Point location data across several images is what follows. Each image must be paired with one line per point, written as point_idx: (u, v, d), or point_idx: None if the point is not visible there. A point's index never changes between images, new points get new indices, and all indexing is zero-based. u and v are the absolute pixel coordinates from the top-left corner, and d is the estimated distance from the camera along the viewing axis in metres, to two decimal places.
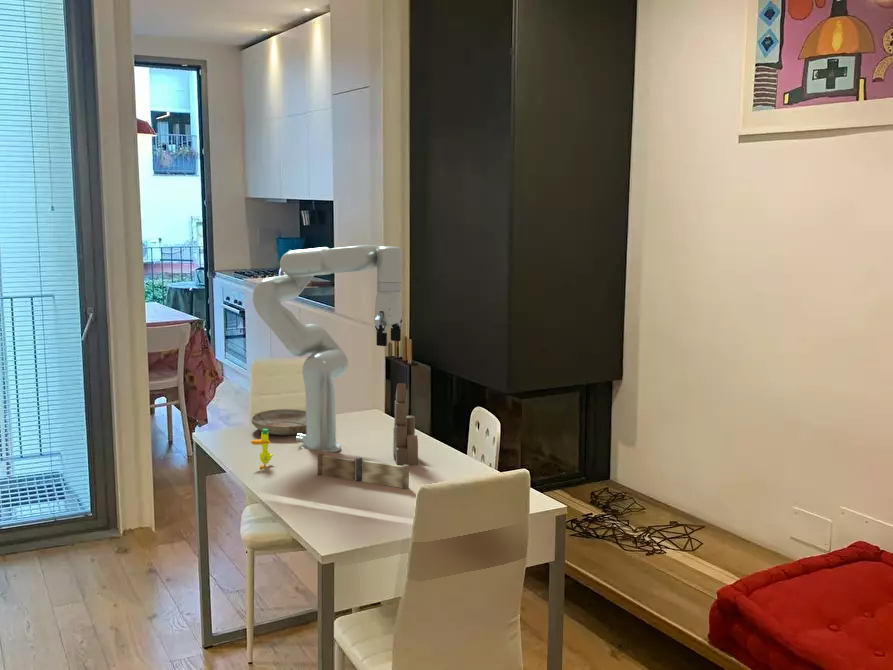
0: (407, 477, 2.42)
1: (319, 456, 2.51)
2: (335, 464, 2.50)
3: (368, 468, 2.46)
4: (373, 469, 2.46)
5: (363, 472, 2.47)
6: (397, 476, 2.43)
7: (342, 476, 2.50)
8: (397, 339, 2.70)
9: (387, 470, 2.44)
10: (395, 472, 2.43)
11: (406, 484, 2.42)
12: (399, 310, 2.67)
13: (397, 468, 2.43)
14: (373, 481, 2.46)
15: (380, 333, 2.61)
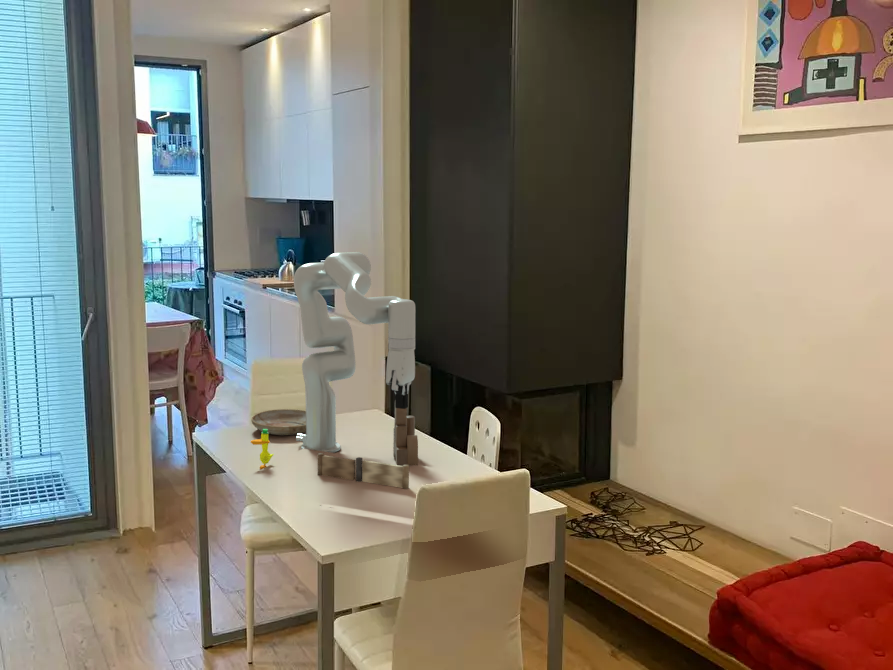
0: (407, 477, 2.42)
1: (319, 456, 2.51)
2: (335, 464, 2.50)
3: (368, 468, 2.46)
4: (373, 469, 2.46)
5: (363, 472, 2.47)
6: (397, 476, 2.43)
7: (342, 476, 2.50)
8: None
9: (387, 470, 2.44)
10: (395, 472, 2.43)
11: (406, 484, 2.42)
12: (412, 368, 2.46)
13: (397, 468, 2.43)
14: (373, 481, 2.46)
15: None
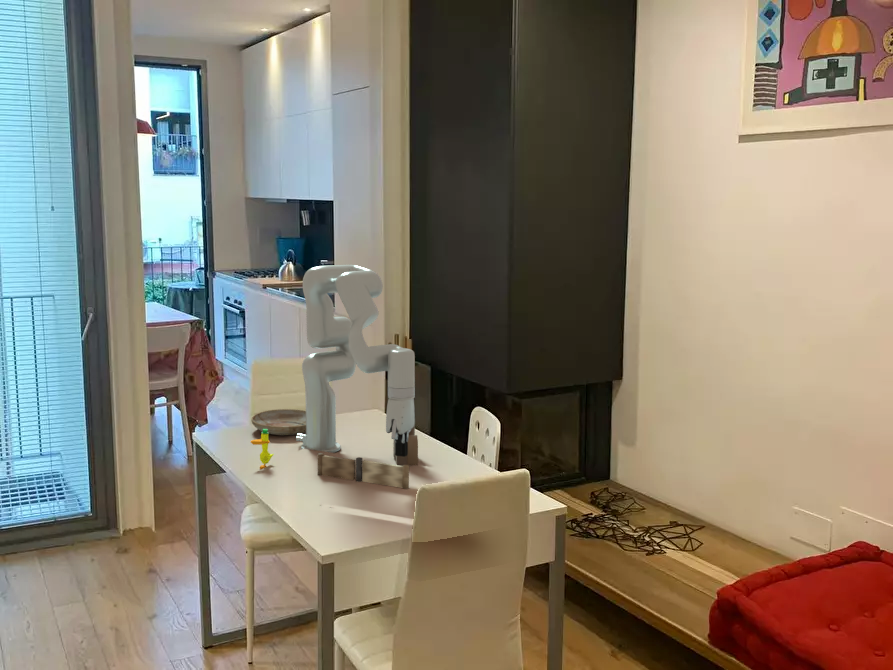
0: (407, 477, 2.42)
1: (319, 456, 2.51)
2: (335, 464, 2.50)
3: (368, 468, 2.46)
4: (373, 469, 2.46)
5: (363, 472, 2.47)
6: (397, 476, 2.43)
7: (342, 476, 2.50)
8: None
9: (387, 470, 2.44)
10: (395, 472, 2.43)
11: (406, 484, 2.42)
12: (412, 415, 2.49)
13: (397, 468, 2.43)
14: (373, 481, 2.46)
15: None
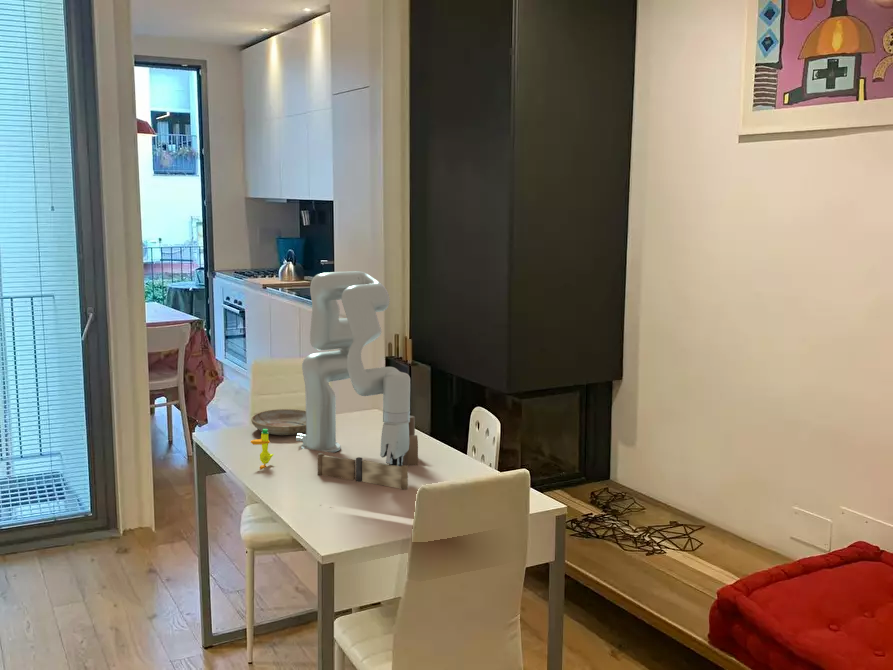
0: (406, 478, 2.41)
1: (319, 456, 2.51)
2: (335, 464, 2.50)
3: (368, 468, 2.46)
4: (373, 469, 2.45)
5: (362, 472, 2.47)
6: (396, 477, 2.43)
7: (342, 476, 2.50)
8: None
9: (386, 470, 2.44)
10: (394, 473, 2.43)
11: (405, 485, 2.42)
12: (407, 439, 2.47)
13: (396, 469, 2.42)
14: (373, 481, 2.46)
15: None
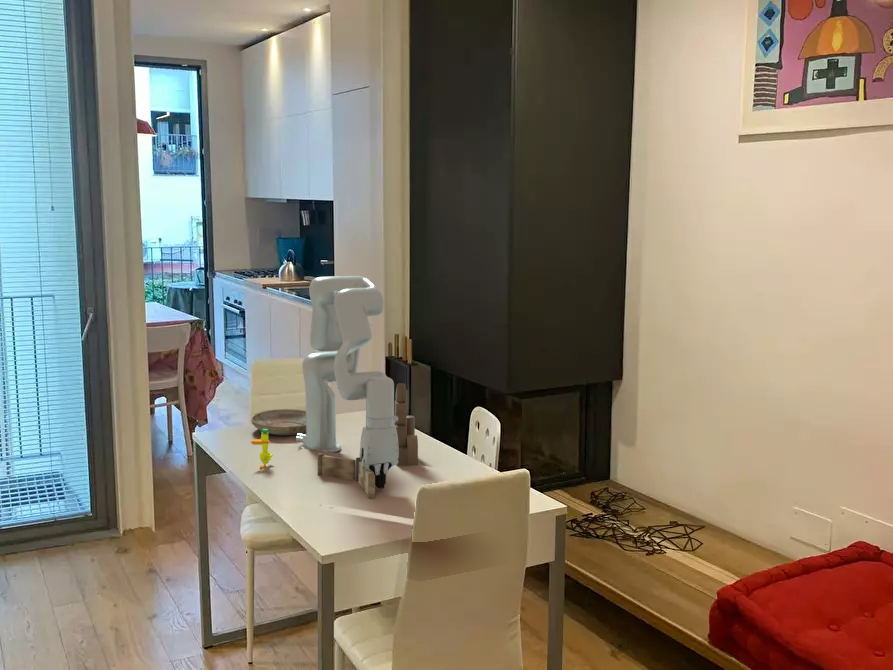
0: (370, 487, 2.34)
1: (319, 456, 2.51)
2: (335, 464, 2.50)
3: (360, 470, 2.45)
4: (361, 471, 2.43)
5: None
6: (367, 483, 2.36)
7: (342, 476, 2.50)
8: None
9: (365, 475, 2.39)
10: (367, 479, 2.37)
11: (369, 494, 2.34)
12: (391, 448, 2.38)
13: (367, 475, 2.36)
14: (361, 484, 2.44)
15: None
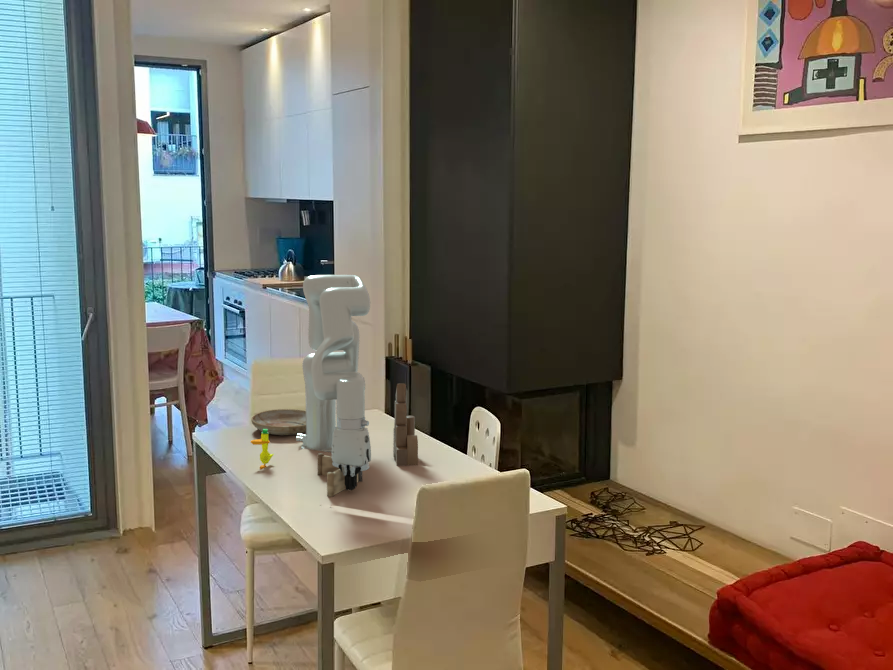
0: (327, 484, 2.35)
1: (319, 456, 2.51)
2: None
3: None
4: None
5: None
6: None
7: None
8: None
9: None
10: None
11: (327, 491, 2.35)
12: (355, 452, 2.33)
13: None
14: None
15: None
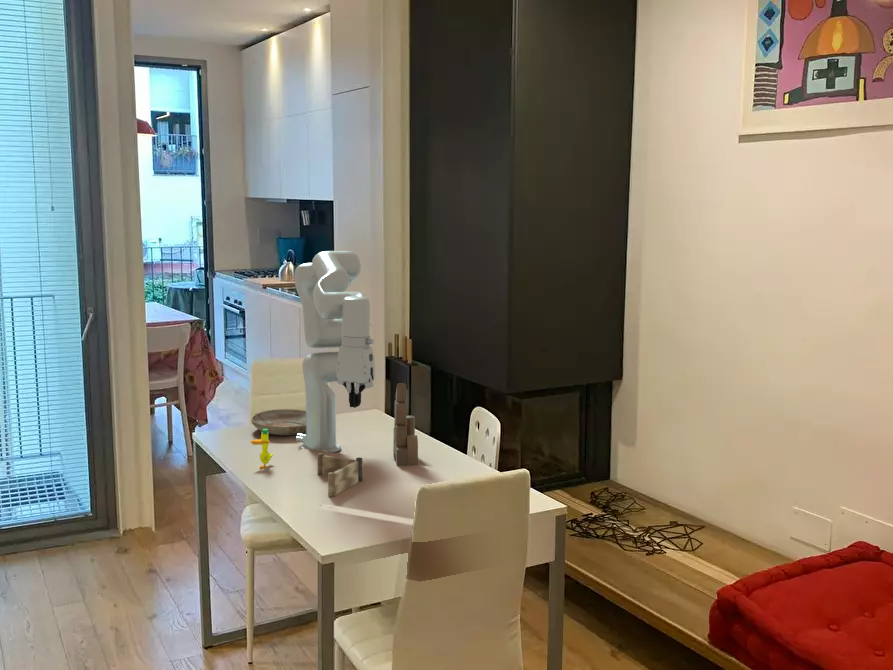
0: (328, 485, 2.35)
1: (319, 456, 2.51)
2: (335, 464, 2.50)
3: None
4: None
5: None
6: None
7: None
8: None
9: None
10: None
11: (328, 491, 2.35)
12: (359, 369, 2.37)
13: None
14: None
15: None
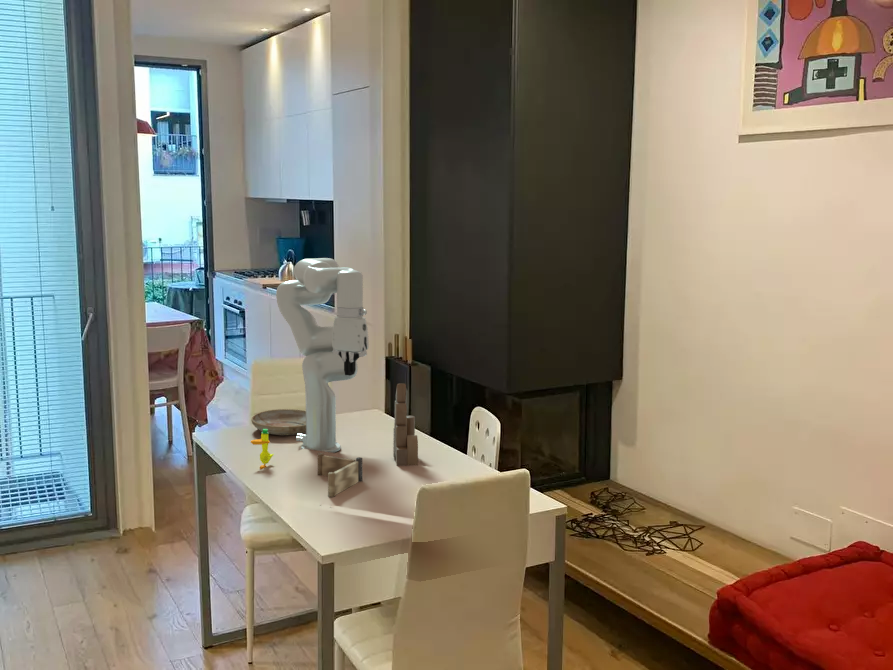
0: (328, 485, 2.35)
1: (319, 456, 2.51)
2: (335, 464, 2.50)
3: None
4: None
5: None
6: None
7: None
8: None
9: None
10: None
11: (328, 491, 2.35)
12: (353, 339, 2.52)
13: None
14: None
15: None
